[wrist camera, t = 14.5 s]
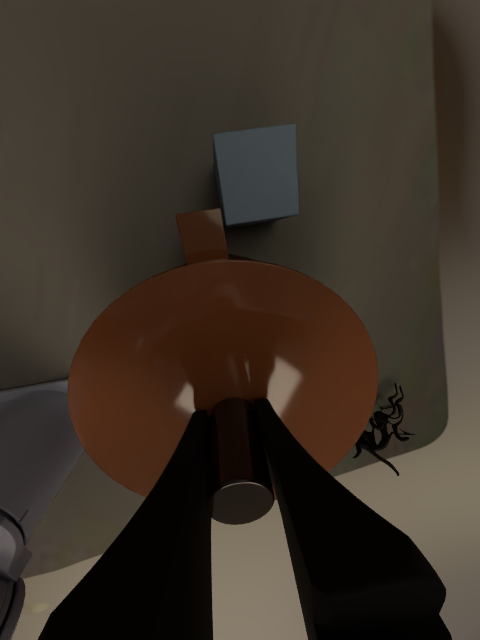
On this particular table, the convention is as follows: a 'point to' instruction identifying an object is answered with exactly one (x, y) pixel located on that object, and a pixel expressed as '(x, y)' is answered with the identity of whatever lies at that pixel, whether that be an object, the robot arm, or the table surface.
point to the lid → (221, 377)
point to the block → (256, 174)
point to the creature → (382, 431)
